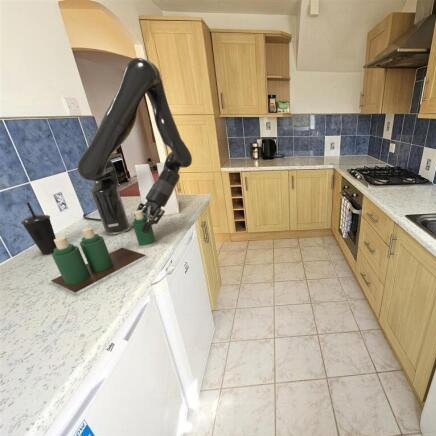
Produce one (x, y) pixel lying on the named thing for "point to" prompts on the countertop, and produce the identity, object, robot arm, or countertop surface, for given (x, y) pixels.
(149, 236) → the green bottle
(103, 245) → the middle bottle
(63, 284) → the serving board
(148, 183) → the white tall block
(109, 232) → the robot arm
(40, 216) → the drinking cup
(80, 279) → the near bottle
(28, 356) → the countertop surface
